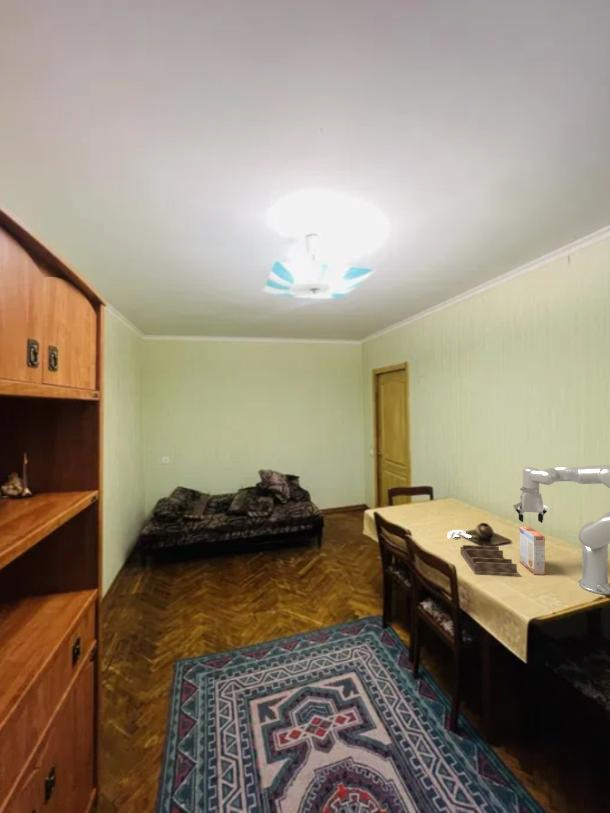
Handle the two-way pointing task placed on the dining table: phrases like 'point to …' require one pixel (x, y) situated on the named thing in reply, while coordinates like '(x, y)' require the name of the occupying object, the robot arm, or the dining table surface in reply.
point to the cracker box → (532, 550)
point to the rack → (488, 561)
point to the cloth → (455, 532)
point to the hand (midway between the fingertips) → (530, 521)
